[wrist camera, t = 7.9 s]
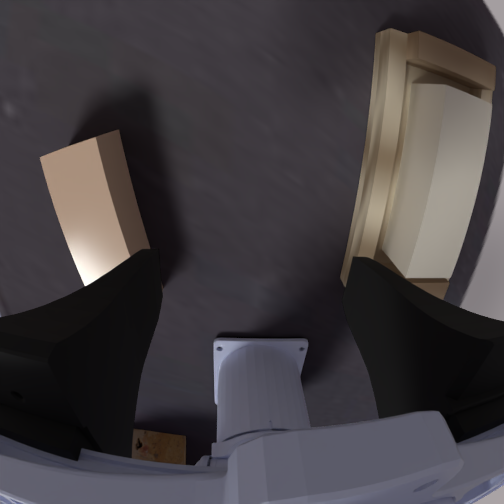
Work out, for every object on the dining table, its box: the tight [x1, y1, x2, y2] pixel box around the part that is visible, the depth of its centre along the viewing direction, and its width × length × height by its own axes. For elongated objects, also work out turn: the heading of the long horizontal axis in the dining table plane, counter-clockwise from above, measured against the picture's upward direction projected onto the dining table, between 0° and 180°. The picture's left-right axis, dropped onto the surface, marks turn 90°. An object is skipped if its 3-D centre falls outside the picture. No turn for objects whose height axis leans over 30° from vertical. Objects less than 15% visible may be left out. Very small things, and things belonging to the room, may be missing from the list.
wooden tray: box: [340, 28, 496, 300], centre depth 18 cm, size 18×9×4 cm, turn 176°
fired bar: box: [40, 130, 163, 291], centre depth 19 cm, size 12×4×4 cm, turn 8°
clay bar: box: [382, 84, 492, 278], centre depth 17 cm, size 12×4×4 cm, turn 176°
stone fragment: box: [132, 429, 186, 465], centre depth 32 cm, size 14×10×15 cm
